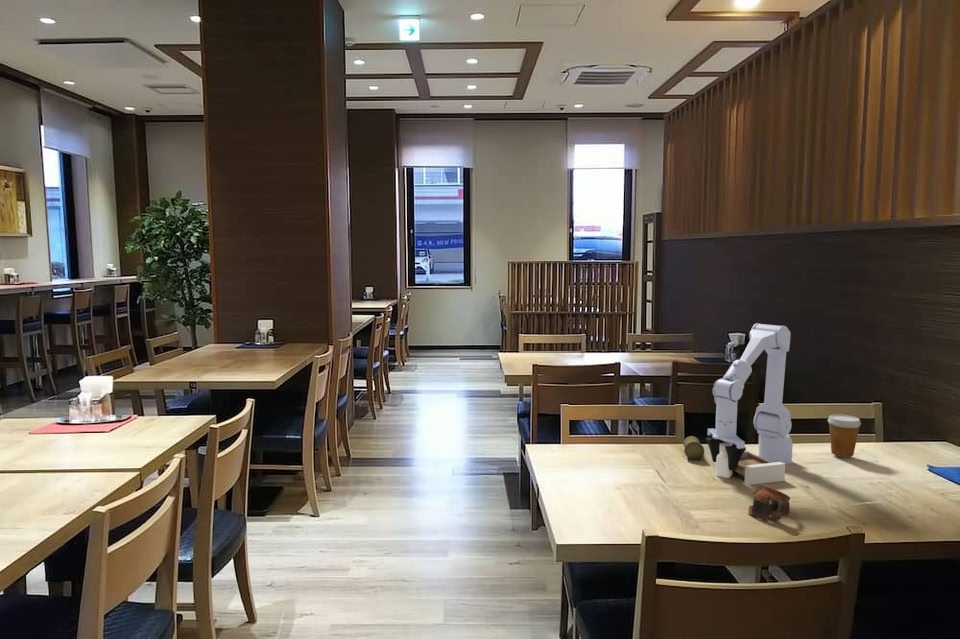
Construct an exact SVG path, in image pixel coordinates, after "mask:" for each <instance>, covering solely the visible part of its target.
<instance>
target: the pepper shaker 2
mask: <svg viewBox="0 0 960 639" xmlns="http://www.w3.org/2000/svg"><path fill="white" fill-rule="evenodd" d="M725 446H731V444H729V443H727V442H724V443H721V444H720V449H719V451H720V453H719V454H718V455H717V457H716V462H715V476H716V477H719V478H723V479H730V478H731V477H732V476H733V473H734V472H733V470H729V467H728V455H727V451H726V449H725Z"/></svg>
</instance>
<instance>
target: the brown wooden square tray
mask: <svg viewBox="0 0 960 639" xmlns="http://www.w3.org/2000/svg"><path fill="white" fill-rule="evenodd" d="M764 463H772V462H770V461H768V460H766V459H763V458H761V457H759V456H758V455H757V454H754V453H753V452H750V451H748V450H745V452H744V453H743V454H742V456H741V458H740V460H739V463H738V466H737V469H736V470H733V471H734V472H735V473H737V474H738V475H739V477H740V478H742V479H745V466H746V465H755V464H764Z"/></svg>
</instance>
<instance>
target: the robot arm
mask: <svg viewBox="0 0 960 639" xmlns="http://www.w3.org/2000/svg"><path fill="white" fill-rule="evenodd" d="M750 329H751V330H750V331H749V342H748V344H747V345H746V347H745V350H744V351H743V353H742V355H741V357H740V358H739V359H735V360H734V361H733V362H732V364H731V365H730V366H729V368H728V370H727V371H726V372H725V374H724V376H723V377H722V378H720V379H717V380H716V381H714V384H713V388H712V395H713V397H714V403H715V404H716V407H715V408H716V409H715V410H716V411H715V428H713V427H712V428H707V436H708V437H706V438H705V441H706V443H707V445H708V448H709V451H710V455H711V460H712V462H713V463H716V457H717V455H718V454H719V453H720V451H719V449H720V444H721V443H728V444H730V445H731V446H725V449H726V451H727V455H728V467H729V470H736V469H737V466H738V463H739V460H740V458H741V456H742V454H743V453H744V452H745V451H747V447H746V446H745V445H746V444H745V440H742V439H741V438H740V437H739V436H738V435H737V422H738V421H737V418H738V401H739V400H740V399H741V398H742V396H743V391H744V389H745V383H746V381H747V380H748V378H749V377H750V375H751V374H752V371H753V369H752V365H753V364H754V362H755V361H756V360H757V359H758V357H759V356H760V355H761V354H762V352H764V351H765V353H767V361H766V373H765V374H766V375H765V387H764V400H763V403H762V404H760V405H759V406H757V407H756V410H755V413H754V414H755V415H754V417H753V426H754V429H755V430H756V433H757V434H759V435H758V455H757V456H759V457H761V458H763V459H766V460H768V461H770V462H772V463H774V462H782V463H784V464H785V465H786V464H787V465H789V464H794V461H793V440H792V437H791V436H790V435H789V434H790V433H791V429H792V426H793V424H792V420H791V411H790V410H789V409H788V408H787V407H785V406H784V404H783V398H784V397H783V396H784V387H785V386H784V385H785V384H784V383H785V373H786V372H785V371H786V361H787V360H786V358H787V352H790V344H791V335H792V334H791V331H790V329H789V328H788V327H787V326H786V325H777V324H776V325H774V324H764V323H757V322H756V323H754V324H753V326H752V327H751V328H750Z"/></svg>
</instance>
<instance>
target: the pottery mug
mask: <svg viewBox="0 0 960 639" xmlns="http://www.w3.org/2000/svg"><path fill="white" fill-rule="evenodd" d="M752 495H753V502H752V505H749V506H748V515H749V516H753V517H755V518H757V519H760V520H761V521H764V522H769V518H770V517H771V519H772V520H774V521H777V520H780V519H781V518H782V516H784V515H789V513H790V509H791V508H790V505H791V504H790V499H791V497H790V496H789V495H787V494H786V493H784V492H782V491H780V490H777V489H775V488H772V487H769V486H766V485H761V484H760V485H759V489H757V490H755V491H754V492H753V493H752ZM770 502H771V503H770Z"/></svg>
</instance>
